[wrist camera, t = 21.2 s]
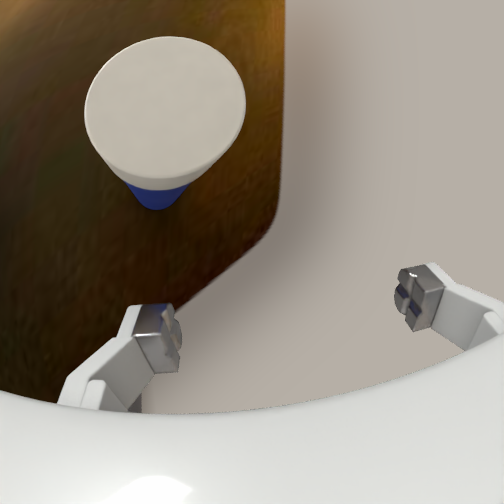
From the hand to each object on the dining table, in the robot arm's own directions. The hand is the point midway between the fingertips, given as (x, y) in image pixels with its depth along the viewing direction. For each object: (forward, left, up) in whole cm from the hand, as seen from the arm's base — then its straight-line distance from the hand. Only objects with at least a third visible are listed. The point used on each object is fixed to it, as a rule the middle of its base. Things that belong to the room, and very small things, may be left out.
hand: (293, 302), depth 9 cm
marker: (+7, +1, -11) cm, 13 cm away
